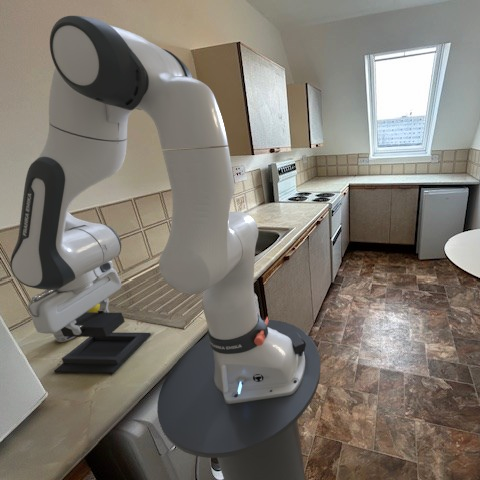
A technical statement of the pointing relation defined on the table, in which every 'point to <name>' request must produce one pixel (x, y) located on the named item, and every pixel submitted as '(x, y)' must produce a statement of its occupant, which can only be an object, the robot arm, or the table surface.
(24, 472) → the table surface
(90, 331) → the black pad
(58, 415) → the table surface
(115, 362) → the base pad
